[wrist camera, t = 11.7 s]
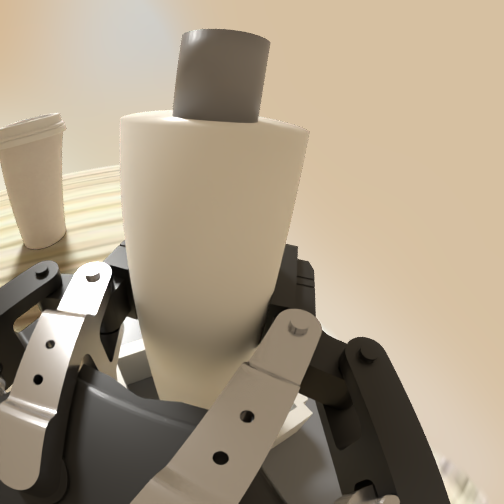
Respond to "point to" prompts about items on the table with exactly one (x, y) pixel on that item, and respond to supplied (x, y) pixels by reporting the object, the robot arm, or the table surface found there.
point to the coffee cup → (35, 177)
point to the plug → (207, 214)
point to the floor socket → (284, 447)
